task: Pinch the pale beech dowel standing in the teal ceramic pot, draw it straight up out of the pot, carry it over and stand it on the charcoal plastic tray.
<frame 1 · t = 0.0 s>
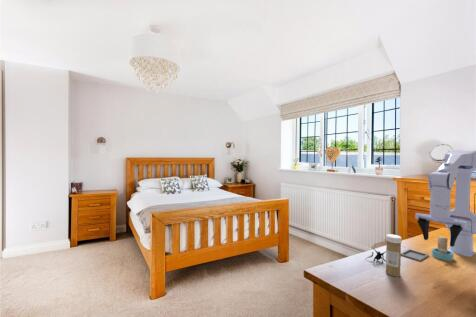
hand: (438, 242, 90), 10 cm above the table, fingers open, 7 cm apart
tray: (414, 257, 102), on the table
sprinkles bottle: (392, 274, 87), on the table
creature: (377, 263, 96), on the table
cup: (442, 258, 101), on the table
pin: (442, 257, 100), point 1 cm above the table, touching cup
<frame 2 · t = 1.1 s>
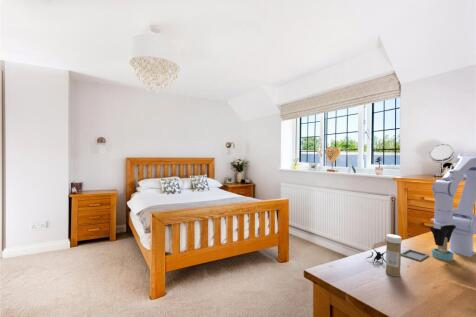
hand: (442, 243, 100), 6 cm above the table, fingers open, 7 cm apart
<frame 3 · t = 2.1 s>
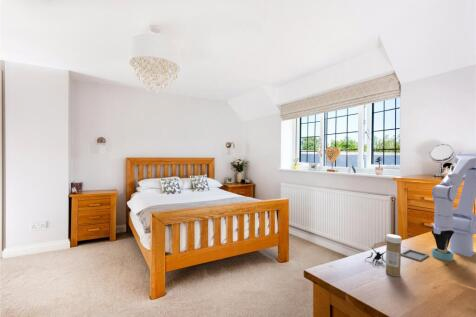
hand: (442, 248, 100), 4 cm above the table, fingers closed on pin, 3 cm apart
pin: (442, 257, 100), point 1 cm above the table, touching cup, gripper
everything else where it was.
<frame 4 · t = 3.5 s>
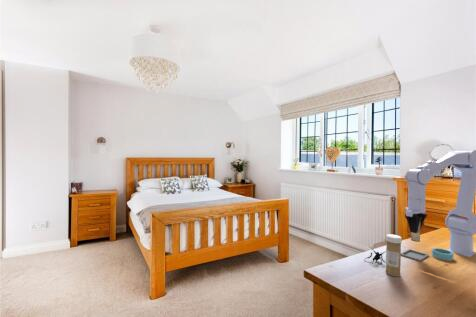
hand: (415, 231, 101), 10 cm above the table, fingers closed on pin, 3 cm apart
pin: (415, 240, 101), point 7 cm above the table, touching gripper
when the fingers open (5 cm above the table, at t = 4.9 s): pin stays where it is, resting on tray.
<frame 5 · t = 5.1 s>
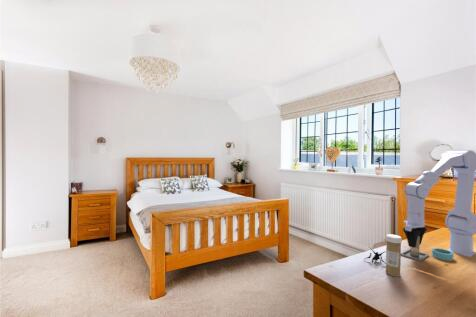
hand: (414, 245, 101), 5 cm above the table, fingers open, 5 cm apart
pin: (414, 255, 102), point 1 cm above the table, touching tray
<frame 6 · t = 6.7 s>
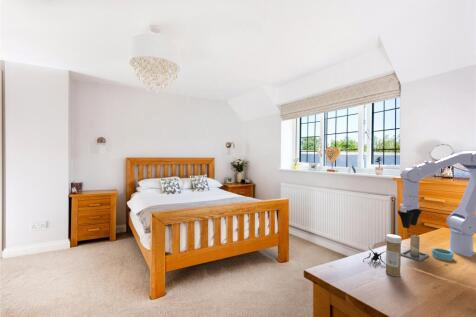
hand: (409, 226, 109), 10 cm above the table, fingers open, 7 cm apart
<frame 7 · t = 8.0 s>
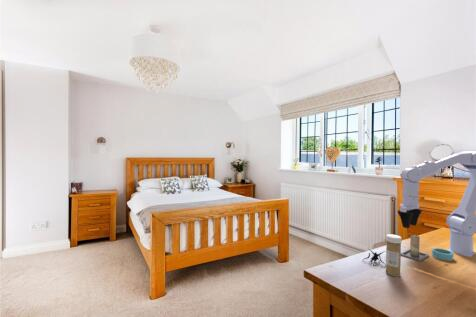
hand: (409, 226, 109), 10 cm above the table, fingers open, 7 cm apart
at the end: pin inside the target area on the tray (0.1 cm from its centre), point 0.6 cm above the tray's base; pin tilted 0°; the gripper is holding nothing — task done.
